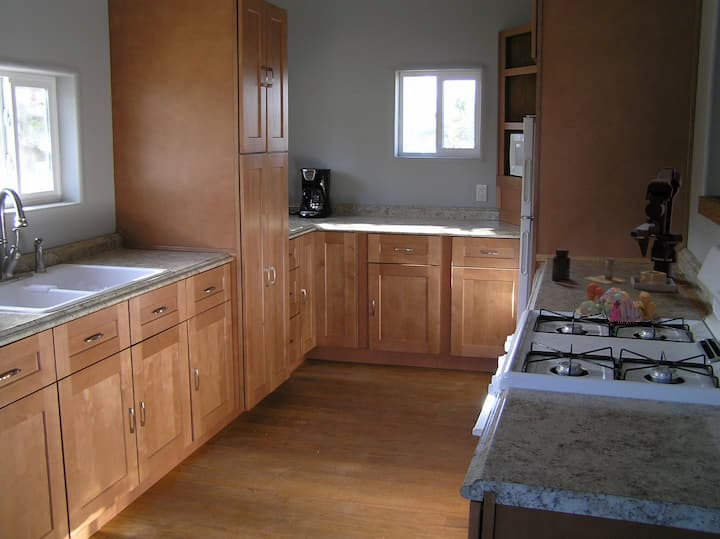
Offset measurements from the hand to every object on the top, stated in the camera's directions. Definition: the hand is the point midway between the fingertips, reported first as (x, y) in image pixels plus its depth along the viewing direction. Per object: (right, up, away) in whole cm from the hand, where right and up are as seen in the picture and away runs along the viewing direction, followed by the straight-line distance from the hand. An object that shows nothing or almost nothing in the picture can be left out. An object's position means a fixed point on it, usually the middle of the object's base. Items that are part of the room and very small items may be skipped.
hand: (654, 258), depth 284 cm
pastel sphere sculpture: (-27, -19, -41) cm, 53 cm away
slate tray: (0, -10, +2) cm, 11 cm away
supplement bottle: (-30, -8, +14) cm, 35 cm away
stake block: (-14, -8, +13) cm, 21 cm away
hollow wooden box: (0, -10, +2) cm, 10 cm away
